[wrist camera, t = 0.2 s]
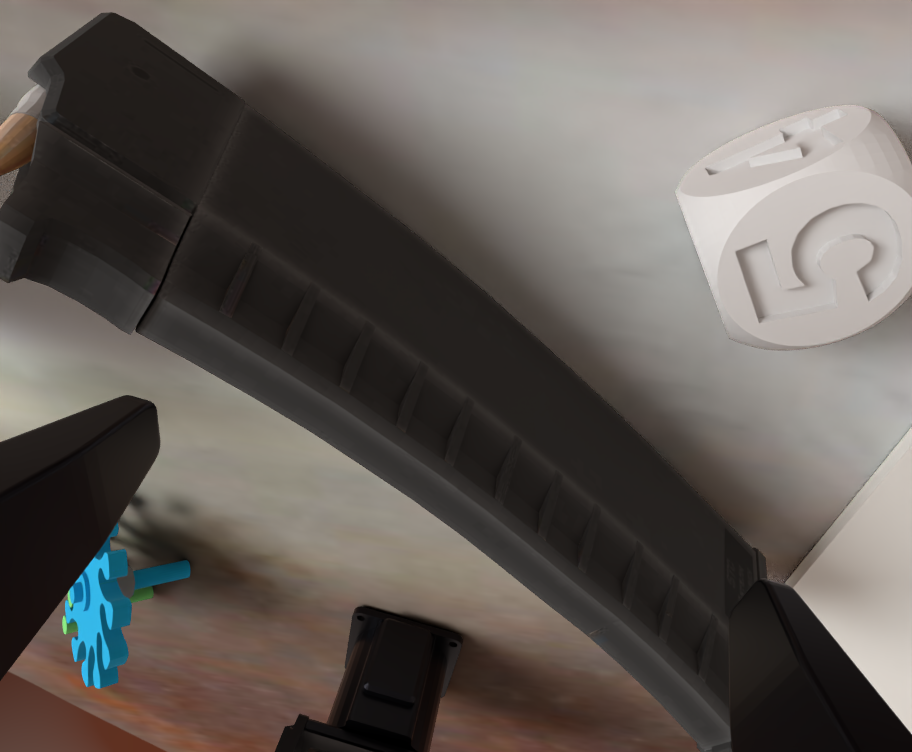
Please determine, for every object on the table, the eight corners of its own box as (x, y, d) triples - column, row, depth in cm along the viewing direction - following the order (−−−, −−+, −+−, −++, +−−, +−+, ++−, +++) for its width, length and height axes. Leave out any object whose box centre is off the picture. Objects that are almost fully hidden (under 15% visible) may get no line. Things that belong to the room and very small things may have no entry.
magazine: (865, 776, 20) (-479, 396, 6) (776, 796, 22) (-441, 536, 8) (698, 401, 32) (123, -15, 18) (648, 432, 34) (87, 74, 20)
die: (665, 168, 20) (685, 220, 15) (839, 89, 18) (914, 125, 13) (713, 297, 22) (742, 373, 17) (873, 240, 20) (948, 310, 15)
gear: (81, 468, 31) (108, 676, 27) (200, 457, 35) (237, 637, 31) (41, 538, 37) (58, 711, 34) (144, 522, 42) (169, 675, 38)
